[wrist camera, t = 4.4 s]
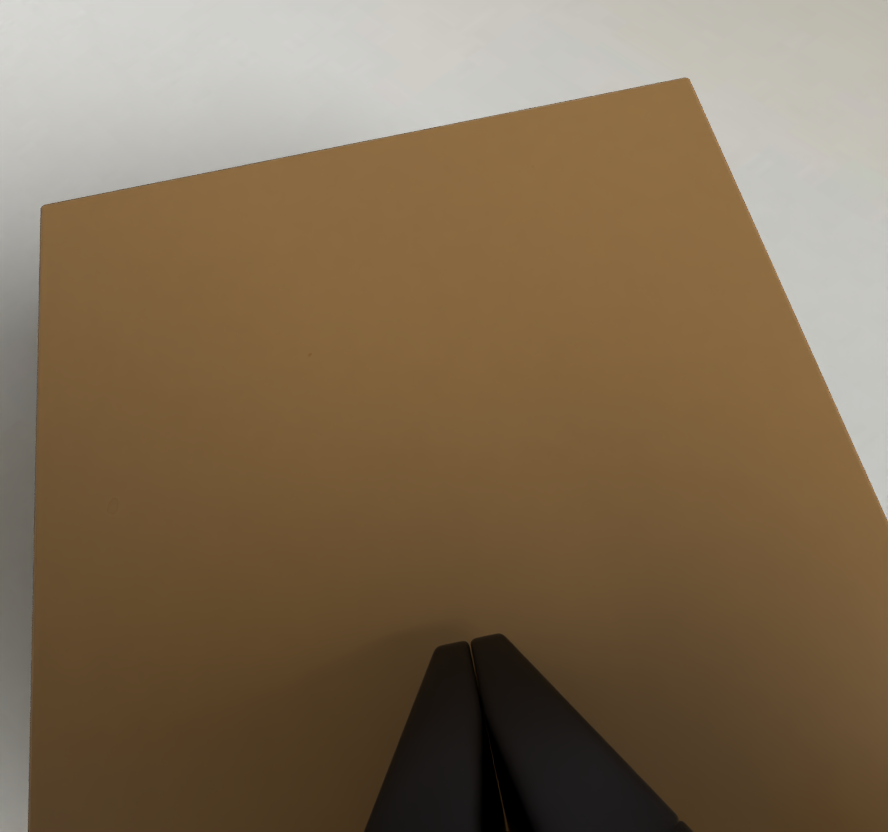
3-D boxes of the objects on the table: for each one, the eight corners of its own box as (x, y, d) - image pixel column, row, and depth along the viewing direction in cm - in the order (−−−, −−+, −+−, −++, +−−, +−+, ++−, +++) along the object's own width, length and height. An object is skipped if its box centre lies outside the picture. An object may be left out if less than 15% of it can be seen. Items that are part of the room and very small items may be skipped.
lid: (63, 231, 13) (38, 203, 13) (678, 108, 14) (689, 74, 13) (58, 1312, 8) (12, 1374, 7) (1094, 1072, 8) (1154, 1108, 7)
